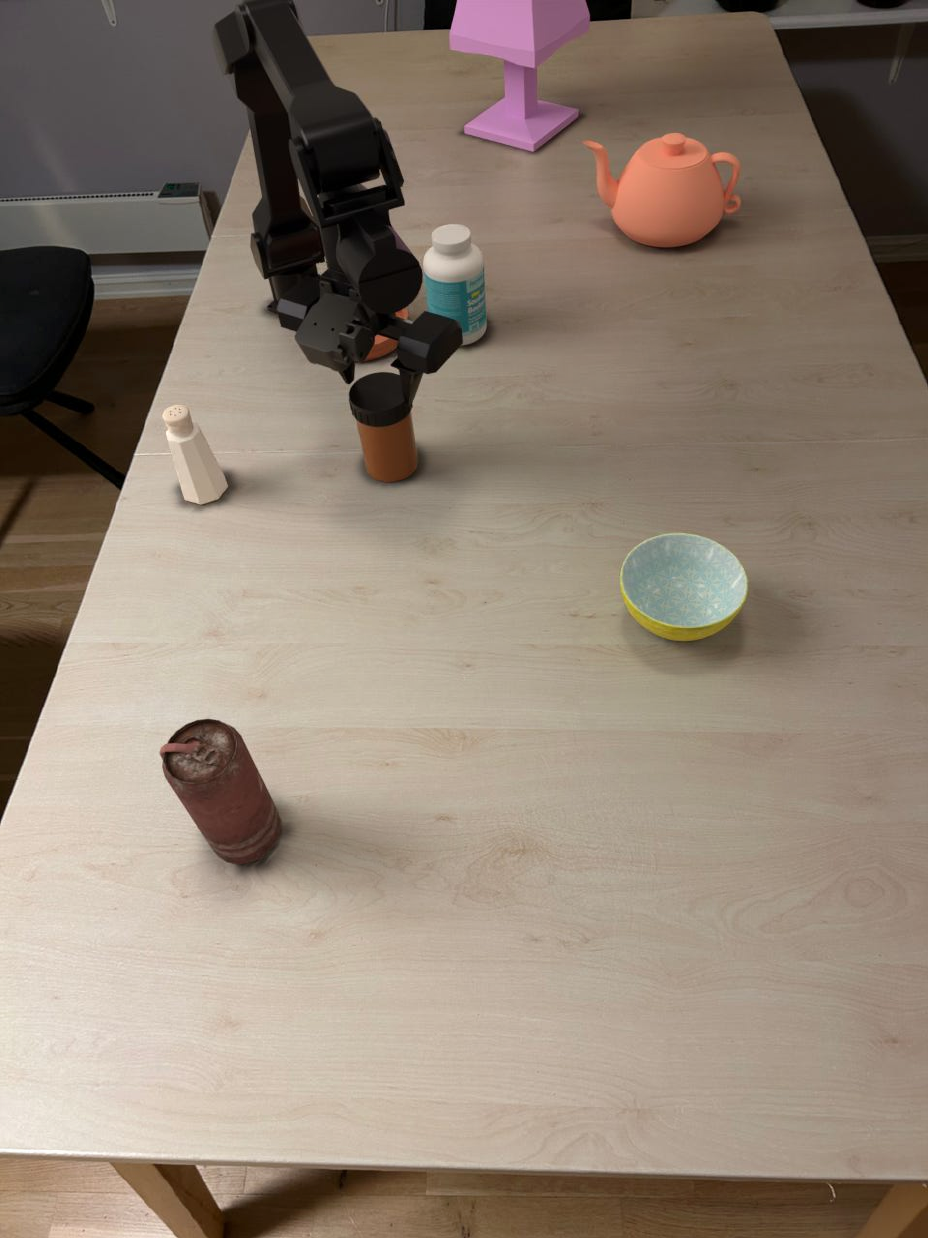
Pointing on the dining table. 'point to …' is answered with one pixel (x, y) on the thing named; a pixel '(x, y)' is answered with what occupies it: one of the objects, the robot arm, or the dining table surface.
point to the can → (222, 790)
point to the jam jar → (389, 450)
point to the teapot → (667, 190)
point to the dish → (385, 341)
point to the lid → (378, 400)
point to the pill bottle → (456, 280)
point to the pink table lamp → (519, 62)
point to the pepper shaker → (193, 458)
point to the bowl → (683, 586)
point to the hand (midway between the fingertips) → (379, 391)
